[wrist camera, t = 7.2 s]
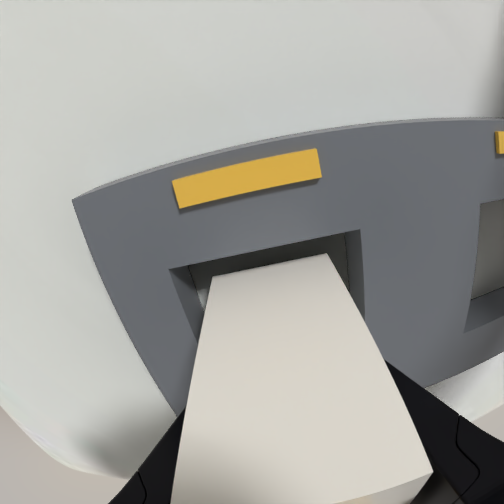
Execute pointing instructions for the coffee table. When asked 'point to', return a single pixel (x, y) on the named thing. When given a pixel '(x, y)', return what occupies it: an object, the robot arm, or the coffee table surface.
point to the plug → (293, 398)
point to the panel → (313, 237)
